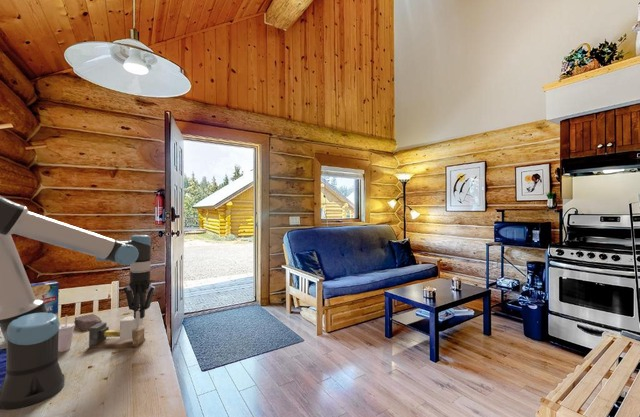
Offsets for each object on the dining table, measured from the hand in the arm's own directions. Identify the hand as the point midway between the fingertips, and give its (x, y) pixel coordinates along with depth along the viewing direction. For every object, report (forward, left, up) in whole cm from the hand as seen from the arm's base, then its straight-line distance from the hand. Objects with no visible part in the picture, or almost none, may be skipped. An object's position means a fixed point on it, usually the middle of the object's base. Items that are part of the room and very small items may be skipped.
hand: (139, 325), depth 126 cm
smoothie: (-5, +27, -8) cm, 29 cm away
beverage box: (+15, +53, -8) cm, 56 cm away
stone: (+20, +35, -8) cm, 42 cm away
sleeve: (0, +4, -5) cm, 6 cm away
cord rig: (0, +9, -8) cm, 12 cm away
